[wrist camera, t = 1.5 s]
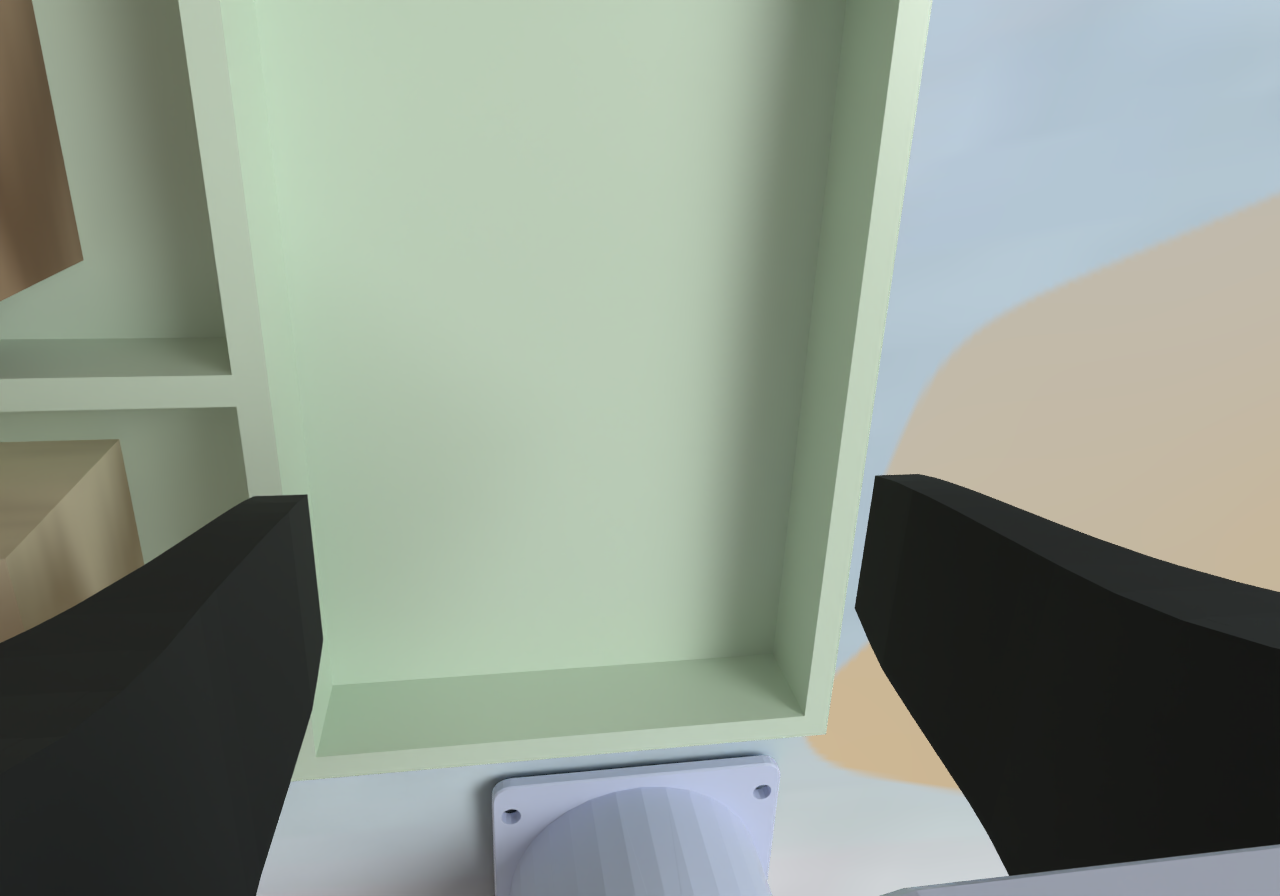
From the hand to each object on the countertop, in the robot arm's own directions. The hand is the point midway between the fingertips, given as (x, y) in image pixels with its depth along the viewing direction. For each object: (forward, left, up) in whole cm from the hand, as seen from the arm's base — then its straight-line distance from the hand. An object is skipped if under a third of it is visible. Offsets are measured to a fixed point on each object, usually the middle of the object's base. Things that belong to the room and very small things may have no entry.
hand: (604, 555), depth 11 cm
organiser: (0, +6, -9) cm, 11 cm away
